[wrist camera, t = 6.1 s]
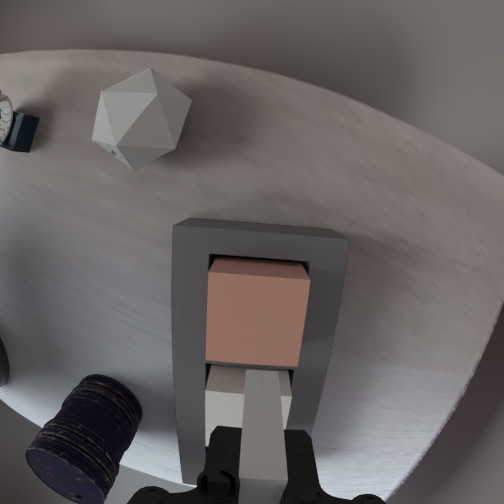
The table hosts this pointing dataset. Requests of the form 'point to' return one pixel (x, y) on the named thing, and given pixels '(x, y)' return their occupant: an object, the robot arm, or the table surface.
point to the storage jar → (86, 440)
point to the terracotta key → (256, 311)
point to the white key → (235, 396)
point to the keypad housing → (195, 317)
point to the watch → (15, 127)
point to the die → (140, 118)
